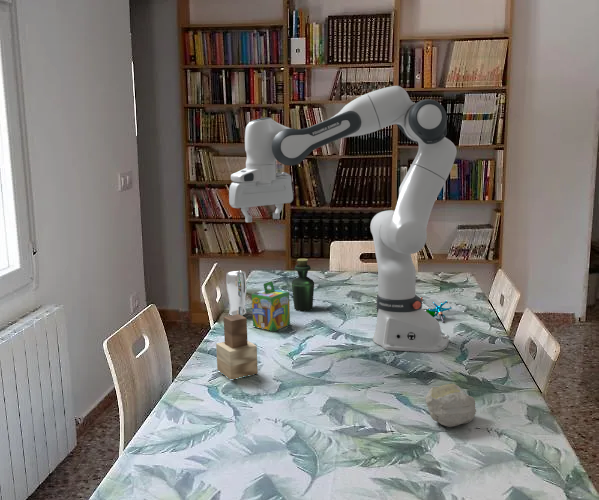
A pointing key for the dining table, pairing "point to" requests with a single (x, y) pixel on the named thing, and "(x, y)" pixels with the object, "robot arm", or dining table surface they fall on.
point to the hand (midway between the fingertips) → (262, 220)
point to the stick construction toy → (438, 311)
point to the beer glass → (236, 291)
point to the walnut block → (235, 331)
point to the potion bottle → (303, 287)
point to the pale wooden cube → (237, 360)
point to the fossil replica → (450, 405)
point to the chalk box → (270, 308)
